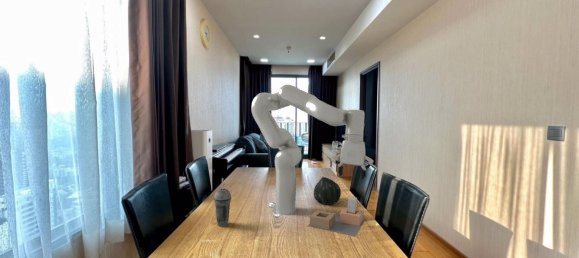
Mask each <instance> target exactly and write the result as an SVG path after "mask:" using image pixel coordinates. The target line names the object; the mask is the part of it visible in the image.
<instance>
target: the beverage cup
mask: <svg viewBox="0 0 579 258" xmlns="http://www.w3.org/2000/svg"><path fill="white" fill-rule="evenodd" d="M213 200H214V206H215V216H216V225H217V226H218V227H221V228H222V227H223V228H224V227H227V226H229V219H230V207H231V202H232V195H231V192H230V191H229V189H227V188H224V177H222V178H221V188H219V189H218V190H217V191H216V192H215V193H214V198H213Z"/></svg>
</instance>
